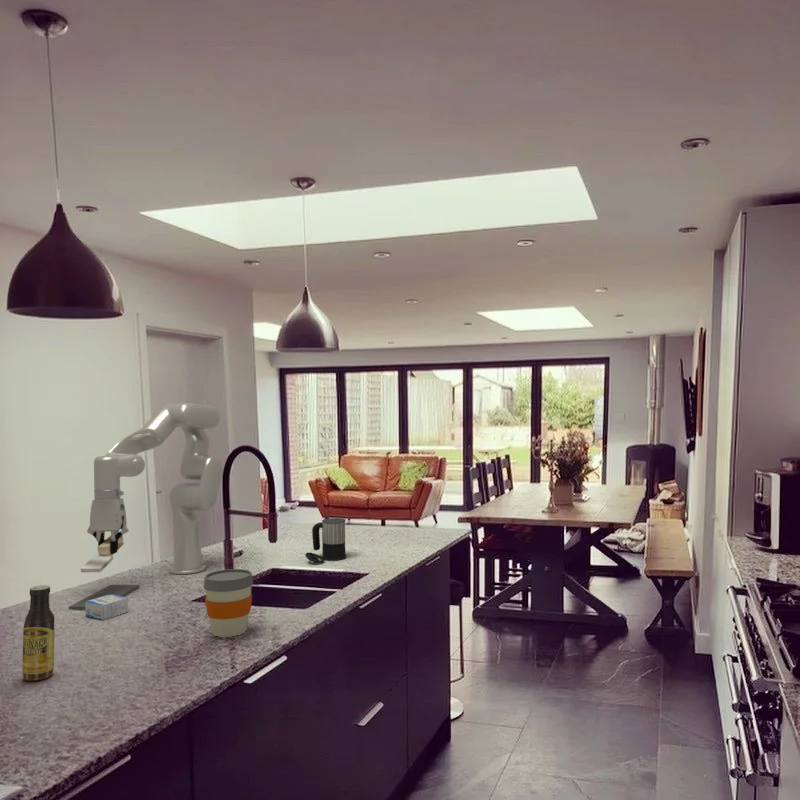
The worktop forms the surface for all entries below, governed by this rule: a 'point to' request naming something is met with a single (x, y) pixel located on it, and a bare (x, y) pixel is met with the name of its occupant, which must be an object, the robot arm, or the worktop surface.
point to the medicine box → (106, 606)
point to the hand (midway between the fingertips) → (108, 552)
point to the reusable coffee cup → (228, 601)
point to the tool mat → (111, 589)
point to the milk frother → (329, 540)
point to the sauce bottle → (38, 636)
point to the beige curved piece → (101, 557)
